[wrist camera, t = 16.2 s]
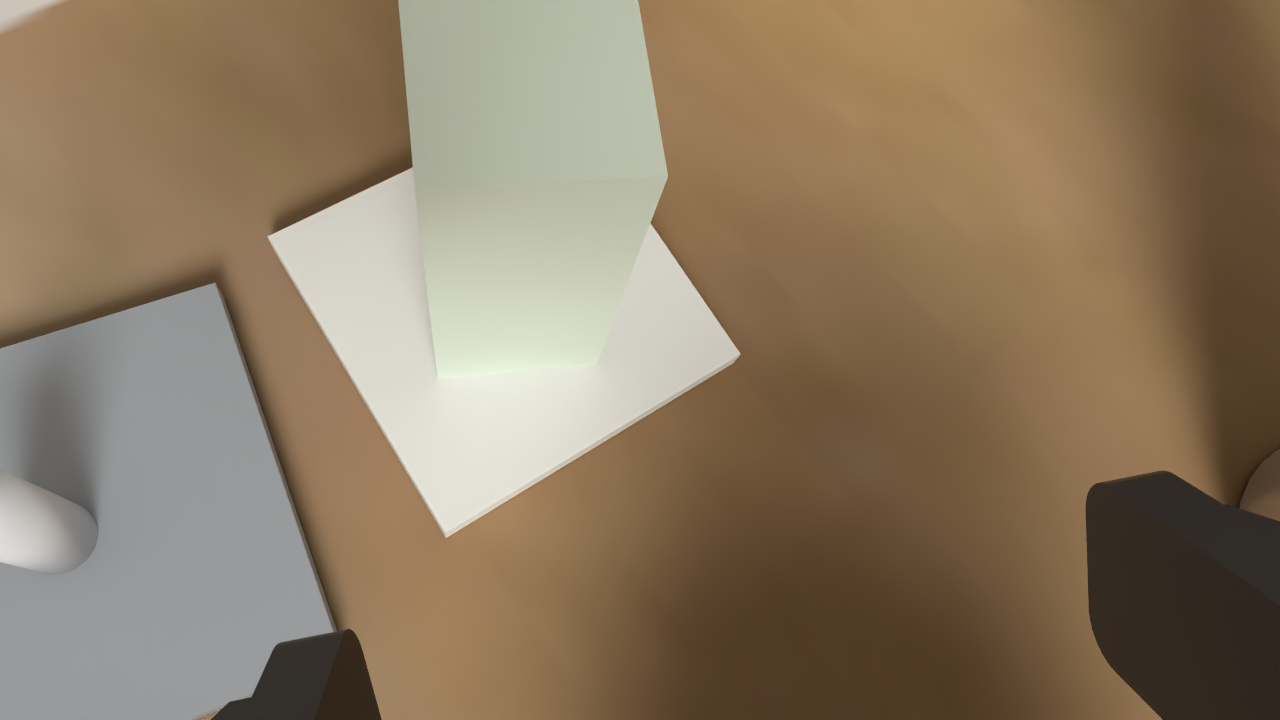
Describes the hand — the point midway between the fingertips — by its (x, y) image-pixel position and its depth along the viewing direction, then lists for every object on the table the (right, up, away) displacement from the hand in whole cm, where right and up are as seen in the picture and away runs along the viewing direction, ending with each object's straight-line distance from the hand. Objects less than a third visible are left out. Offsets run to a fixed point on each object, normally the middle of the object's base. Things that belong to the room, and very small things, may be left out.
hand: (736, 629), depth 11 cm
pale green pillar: (-5, +5, +21) cm, 22 cm away
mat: (-5, +5, +22) cm, 23 cm away
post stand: (-17, -2, +18) cm, 25 cm away
